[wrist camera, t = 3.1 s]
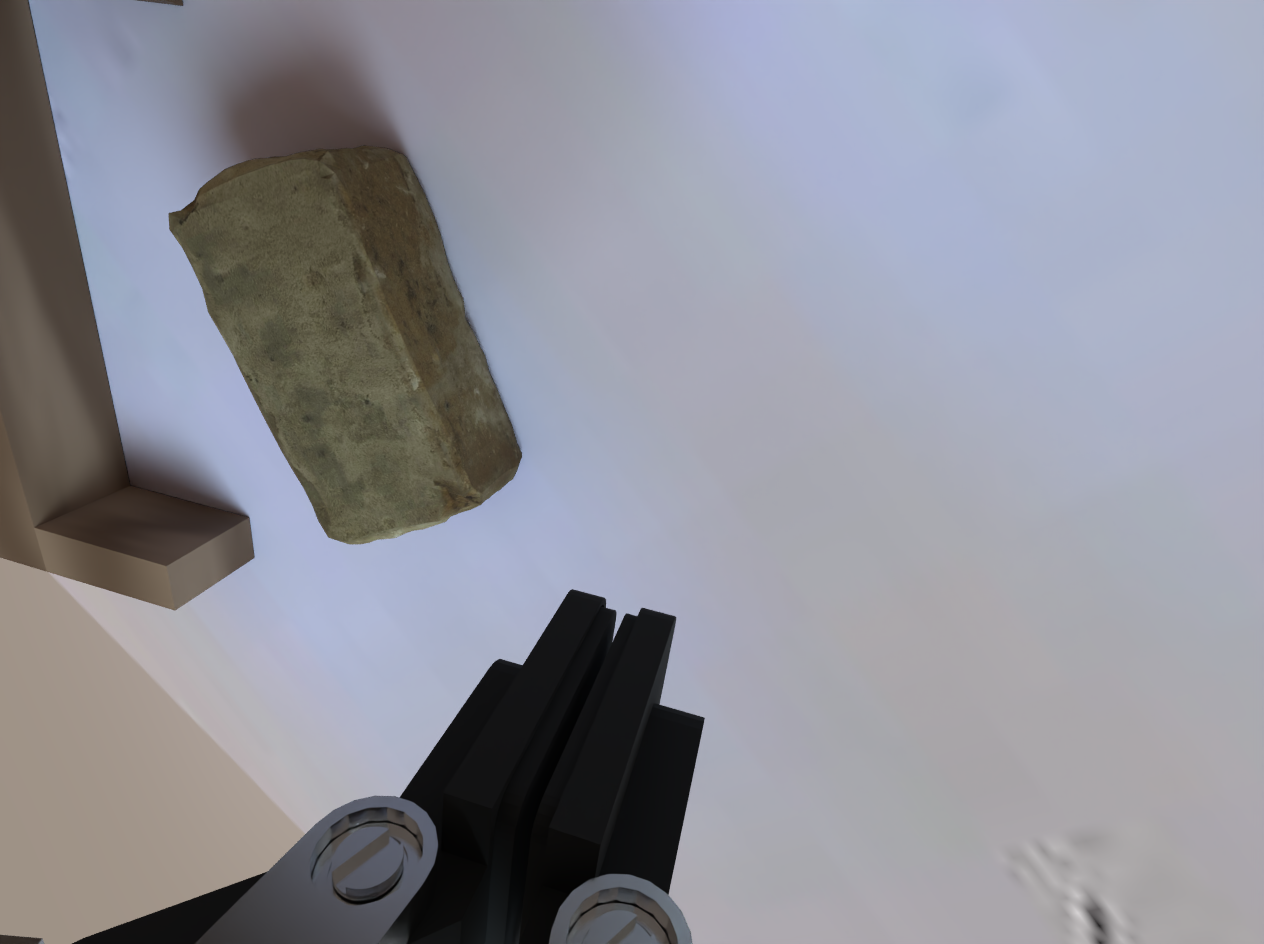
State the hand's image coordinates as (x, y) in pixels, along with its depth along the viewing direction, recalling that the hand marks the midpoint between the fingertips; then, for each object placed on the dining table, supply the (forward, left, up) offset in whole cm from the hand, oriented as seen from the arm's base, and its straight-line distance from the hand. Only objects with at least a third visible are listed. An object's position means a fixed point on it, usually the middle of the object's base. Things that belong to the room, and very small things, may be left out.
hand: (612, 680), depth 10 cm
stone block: (+11, -1, -13) cm, 17 cm away
